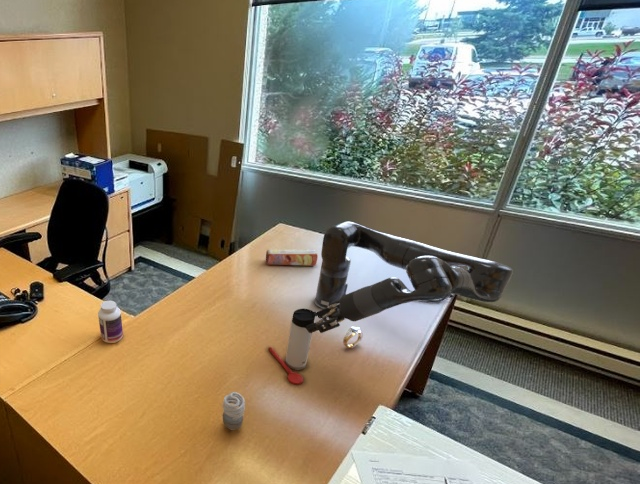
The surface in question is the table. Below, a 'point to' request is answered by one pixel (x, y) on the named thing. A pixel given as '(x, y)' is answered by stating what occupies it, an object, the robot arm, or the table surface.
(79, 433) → the table surface
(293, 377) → the spoon
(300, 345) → the travel mug
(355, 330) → the ring
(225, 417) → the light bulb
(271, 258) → the snack package
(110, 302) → the pill bottle
